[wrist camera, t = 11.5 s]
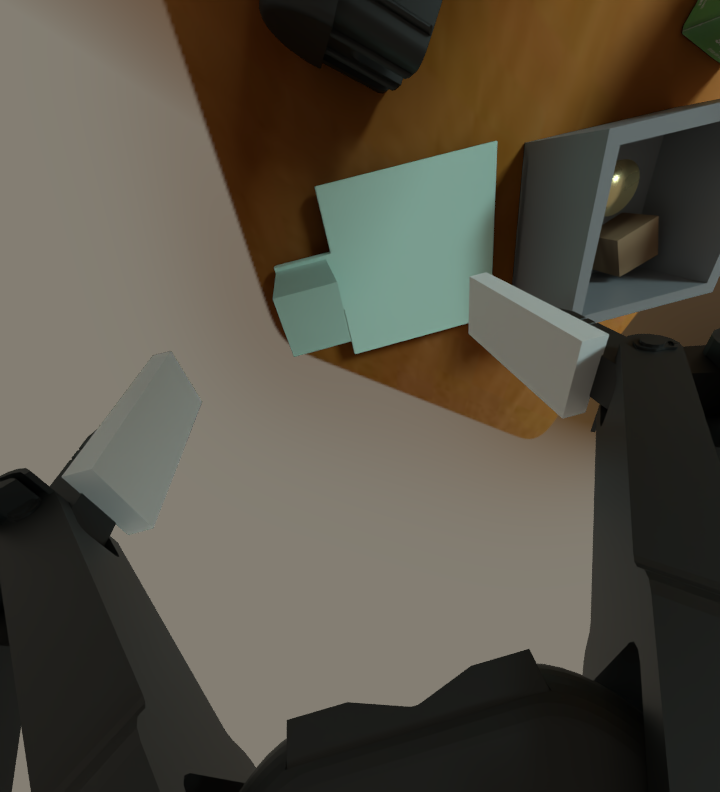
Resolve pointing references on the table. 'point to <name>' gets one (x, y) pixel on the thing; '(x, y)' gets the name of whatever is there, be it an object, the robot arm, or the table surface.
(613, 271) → the walnut part
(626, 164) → the brass part
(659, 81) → the table surface
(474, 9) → the table surface
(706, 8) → the ink box
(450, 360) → the table surface
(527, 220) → the tub
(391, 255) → the lid
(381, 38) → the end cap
